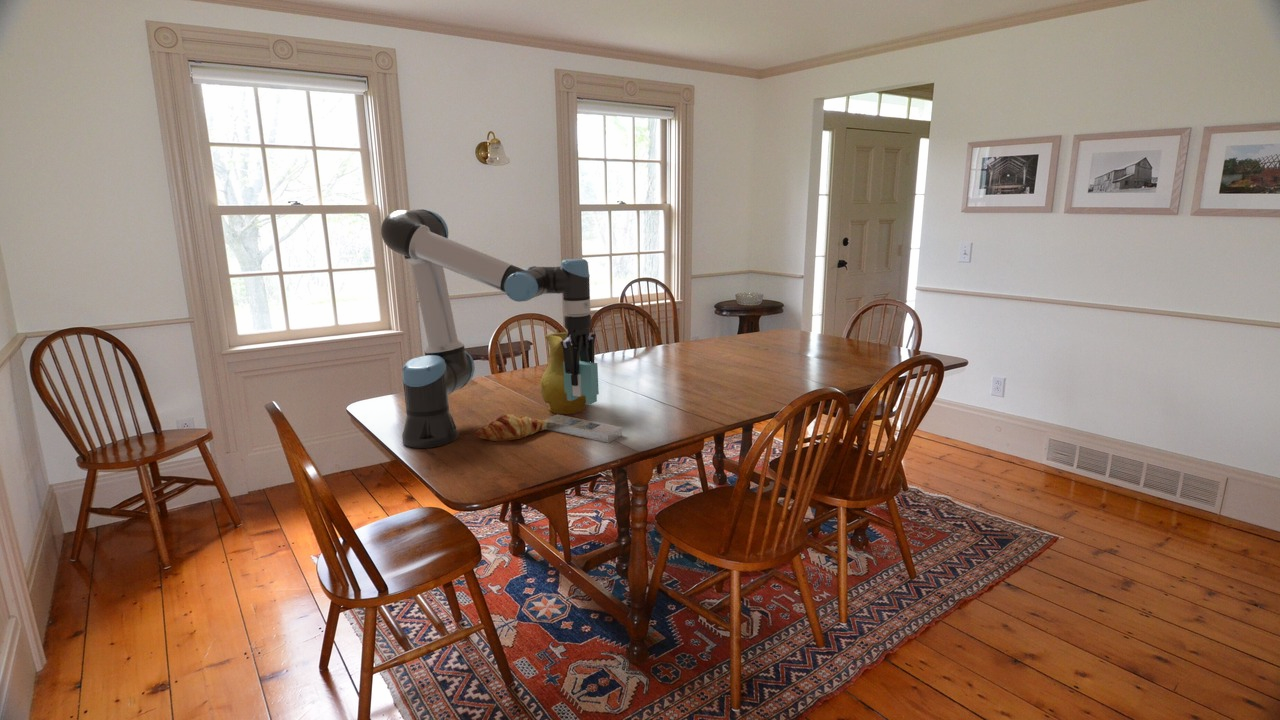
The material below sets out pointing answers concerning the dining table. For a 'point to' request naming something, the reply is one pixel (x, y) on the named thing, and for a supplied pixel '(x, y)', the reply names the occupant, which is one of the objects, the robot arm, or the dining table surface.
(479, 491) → the dining table surface
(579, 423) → the rail
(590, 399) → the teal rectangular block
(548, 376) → the pitcher
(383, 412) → the dining table surface
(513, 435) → the croissant
